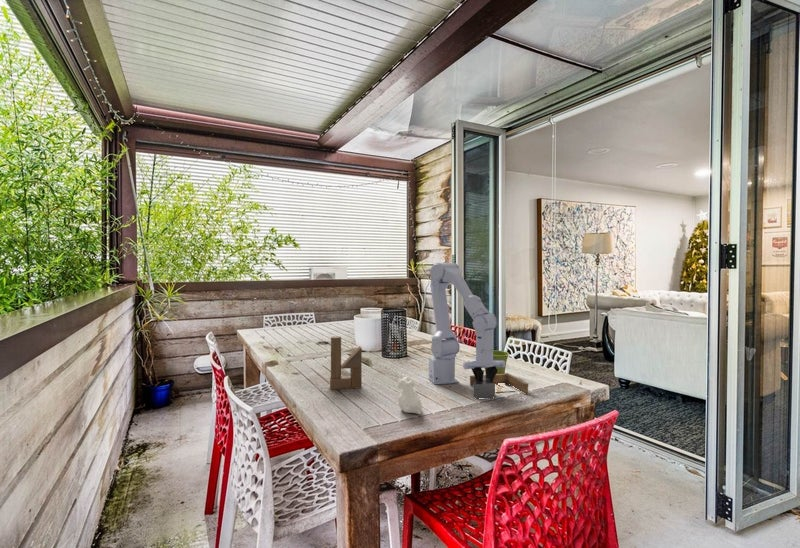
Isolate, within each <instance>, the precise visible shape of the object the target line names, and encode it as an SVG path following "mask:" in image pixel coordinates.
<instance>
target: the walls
mask: <svg viewBox="0 0 800 548" xmlns="http://www.w3.org/2000/svg"><path fill="white" fill-rule="evenodd" d="M483 376H484V377H486V374H484V375H483ZM474 382H476V378H475V376H474V375H469V386H470V385H471V386H470V387H473V386H472V385H474ZM493 382H494V383H495V384H498V383H508V384H510V385H512V386H514V387H515V388H517V389H519V390H520V391H522V392H524V393H528V394H529V383H527V382H526V381H523V380H522V379H519V378H518V377H517V376H514V375H512V374H510V373H508V372H506V373H505V374H496V375H495V377H494V379H493ZM508 384H507V385H508ZM510 385H509V386H510ZM512 386H511V387H512ZM515 388H514V389H515ZM517 389H516V390H517ZM520 391H519V392H520ZM522 392H521V393H522ZM524 393H523V394H524Z"/></svg>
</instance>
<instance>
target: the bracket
mask: <svg viewBox="0 0 800 548" xmlns="http://www.w3.org/2000/svg"><path fill="white" fill-rule="evenodd" d="M495 396H496V393H495V383H494V382H493V381H491V380H489V379H488V378H486V377H484V376H483V382H474V386H473V398H474V397H475V398H476V399H479V398H492V399H494V398H493V397H495ZM475 398H474V399H475ZM495 398H496V397H495ZM476 399H475V400H476ZM479 400H480V399H479Z"/></svg>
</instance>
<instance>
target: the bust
mask: <svg viewBox="0 0 800 548" xmlns="http://www.w3.org/2000/svg"><path fill="white" fill-rule="evenodd" d="M396 384H397V385H396V386H397V389H400V390H401V391H400V394H399V395H398V400H397V402H398V406H399V408H400V409H401V411H403V412H404V413H405V414H406V413H409V414H417V415H421V414H422V411H423V405H422V401H421V399H420V397H419V394H418V393H417V392H416V391H415V390H414V387H415V385H416V384H415V382H413V380H412V379H410V377H407V376H406V375H405V376H404V377H400V378H398V379H397V382H396Z"/></svg>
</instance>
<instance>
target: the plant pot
mask: <svg viewBox="0 0 800 548" xmlns="http://www.w3.org/2000/svg"><path fill="white" fill-rule="evenodd" d="M509 356H510V353H509V352H508V351H503V350H494V349H493V360H498V361H500V360H503V361H505V367H496V369H498V371H497V374H505V372H506V367H507V361H508V358H509Z"/></svg>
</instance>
